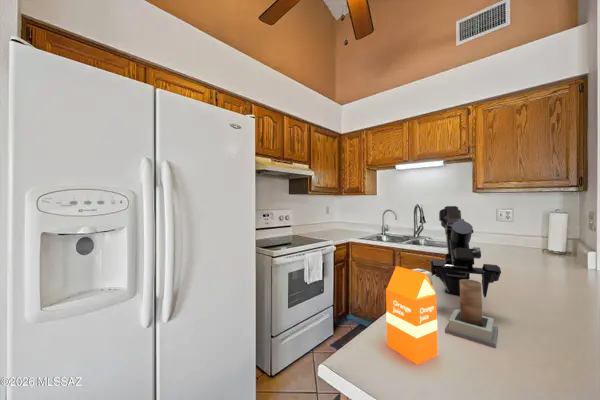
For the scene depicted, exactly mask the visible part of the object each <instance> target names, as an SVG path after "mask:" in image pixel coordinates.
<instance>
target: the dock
mask: <svg viewBox="0 0 600 400" xmlns="http://www.w3.org/2000/svg"><path fill="white" fill-rule="evenodd" d="M482 325H483V327H479V326H476V325H472V324H468V323H465V322H461V310H460V309H456V308H454V310H453V312H452V313H451V315H450V317H449V319H448V323H447V325H446V327H445V329H444V334H445V333H446V334H448V335H451V336H455V337H459V338H461V339H464V340H468V341H471V342H475V343H477V344H481V345H484V346H487V347H490V348H494V349H496V348H497V340H498V333H499V327H498V326H495V318H493V317H488V316H485V315H482Z"/></svg>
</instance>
